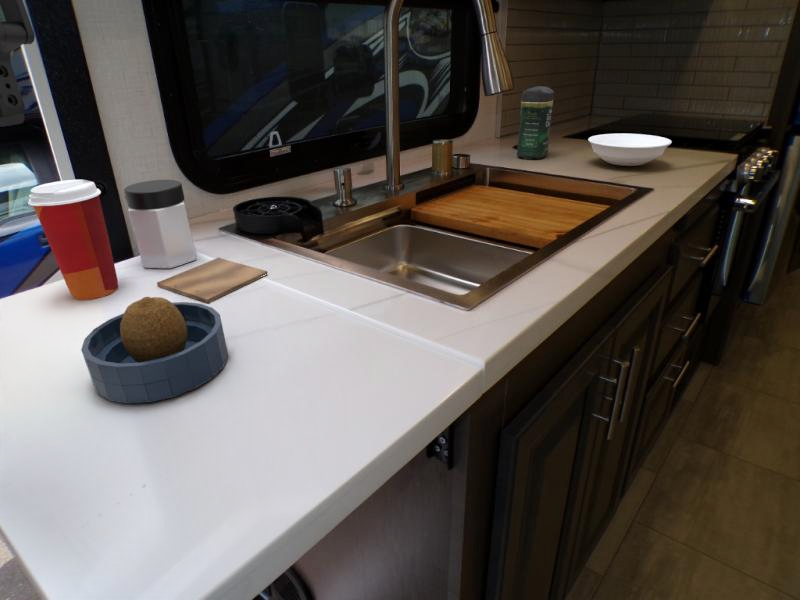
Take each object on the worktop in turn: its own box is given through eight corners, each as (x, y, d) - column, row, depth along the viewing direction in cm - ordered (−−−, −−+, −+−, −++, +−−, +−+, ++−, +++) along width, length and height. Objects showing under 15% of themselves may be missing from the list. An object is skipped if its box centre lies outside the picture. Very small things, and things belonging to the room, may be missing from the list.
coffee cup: (108, 274, 79) (79, 175, 73) (138, 286, 75) (109, 182, 68) (50, 295, 73) (11, 189, 67) (79, 309, 69) (41, 198, 62)
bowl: (608, 154, 149) (611, 131, 146) (680, 163, 136) (685, 138, 133) (570, 165, 137) (573, 140, 134) (645, 177, 124) (650, 149, 121)
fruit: (117, 375, 54) (95, 307, 51) (161, 345, 59) (144, 281, 56) (165, 386, 52) (146, 316, 49) (206, 354, 57) (191, 288, 54)
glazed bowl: (69, 379, 54) (55, 342, 52) (178, 325, 64) (170, 292, 62) (144, 422, 48) (132, 382, 46) (253, 355, 58) (247, 319, 56)
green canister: (541, 161, 143) (547, 88, 135) (513, 158, 147) (518, 87, 139) (551, 154, 151) (558, 85, 142) (524, 152, 154) (529, 84, 146)
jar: (182, 246, 90) (166, 176, 84) (209, 256, 85) (194, 182, 80) (130, 262, 84) (110, 188, 78) (157, 274, 79) (137, 196, 74)
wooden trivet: (157, 286, 75) (156, 282, 75) (218, 261, 83) (218, 257, 83) (207, 303, 70) (206, 299, 69) (268, 274, 78) (267, 270, 77)
